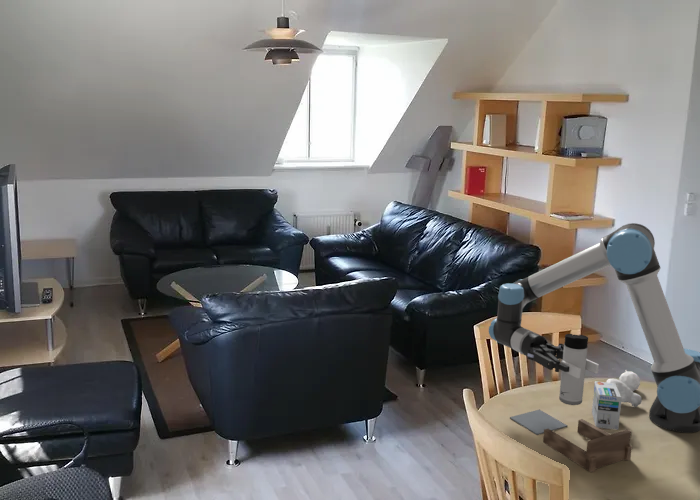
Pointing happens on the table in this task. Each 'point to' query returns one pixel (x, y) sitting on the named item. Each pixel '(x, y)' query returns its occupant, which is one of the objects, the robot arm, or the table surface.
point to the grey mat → (538, 421)
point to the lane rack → (592, 446)
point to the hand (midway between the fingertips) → (588, 371)
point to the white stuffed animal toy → (626, 393)
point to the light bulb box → (606, 405)
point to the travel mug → (576, 356)
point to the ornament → (630, 380)
